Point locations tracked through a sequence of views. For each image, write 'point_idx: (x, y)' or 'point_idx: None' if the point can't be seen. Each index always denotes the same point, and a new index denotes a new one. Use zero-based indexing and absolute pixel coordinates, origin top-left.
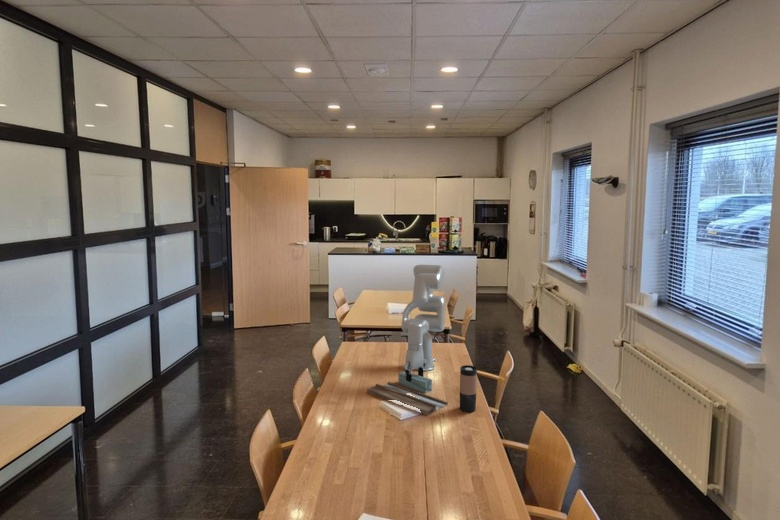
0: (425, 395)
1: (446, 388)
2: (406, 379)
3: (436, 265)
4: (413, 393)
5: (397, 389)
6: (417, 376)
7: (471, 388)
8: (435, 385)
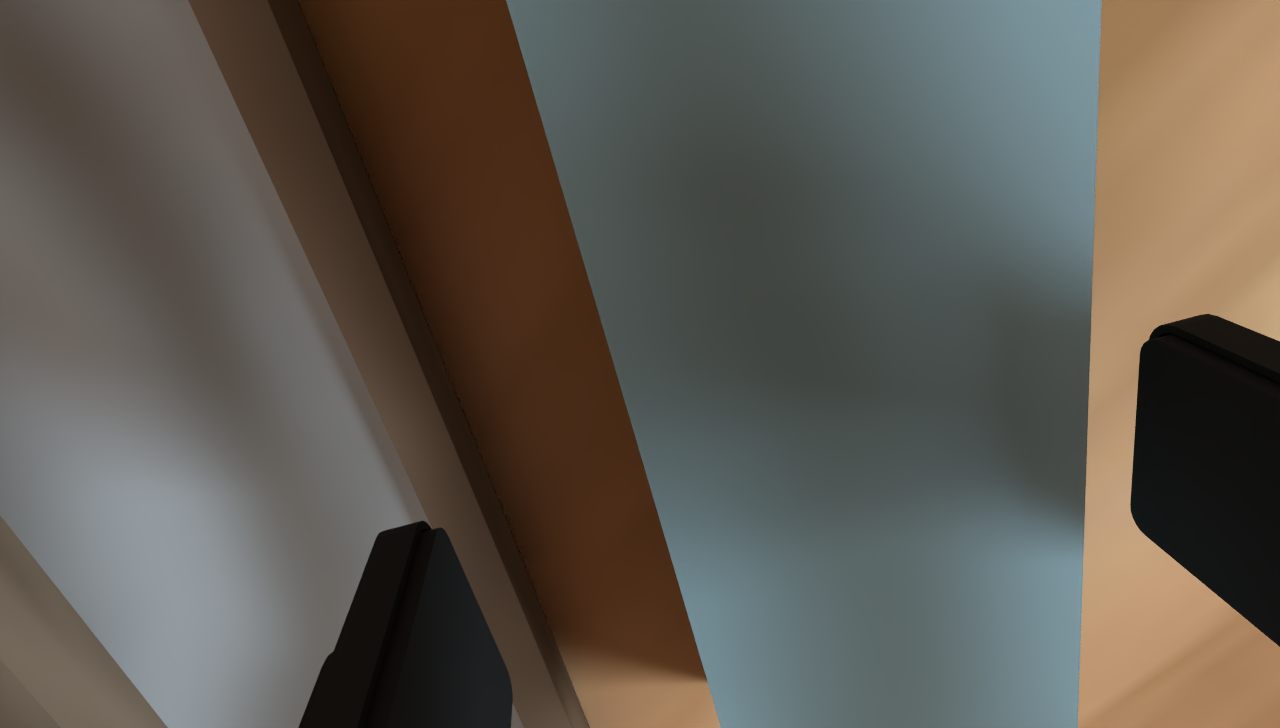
0: None
1: (1201, 677)
2: (383, 572)
3: None
4: None
5: (199, 251)
6: (961, 554)
7: None
8: None
